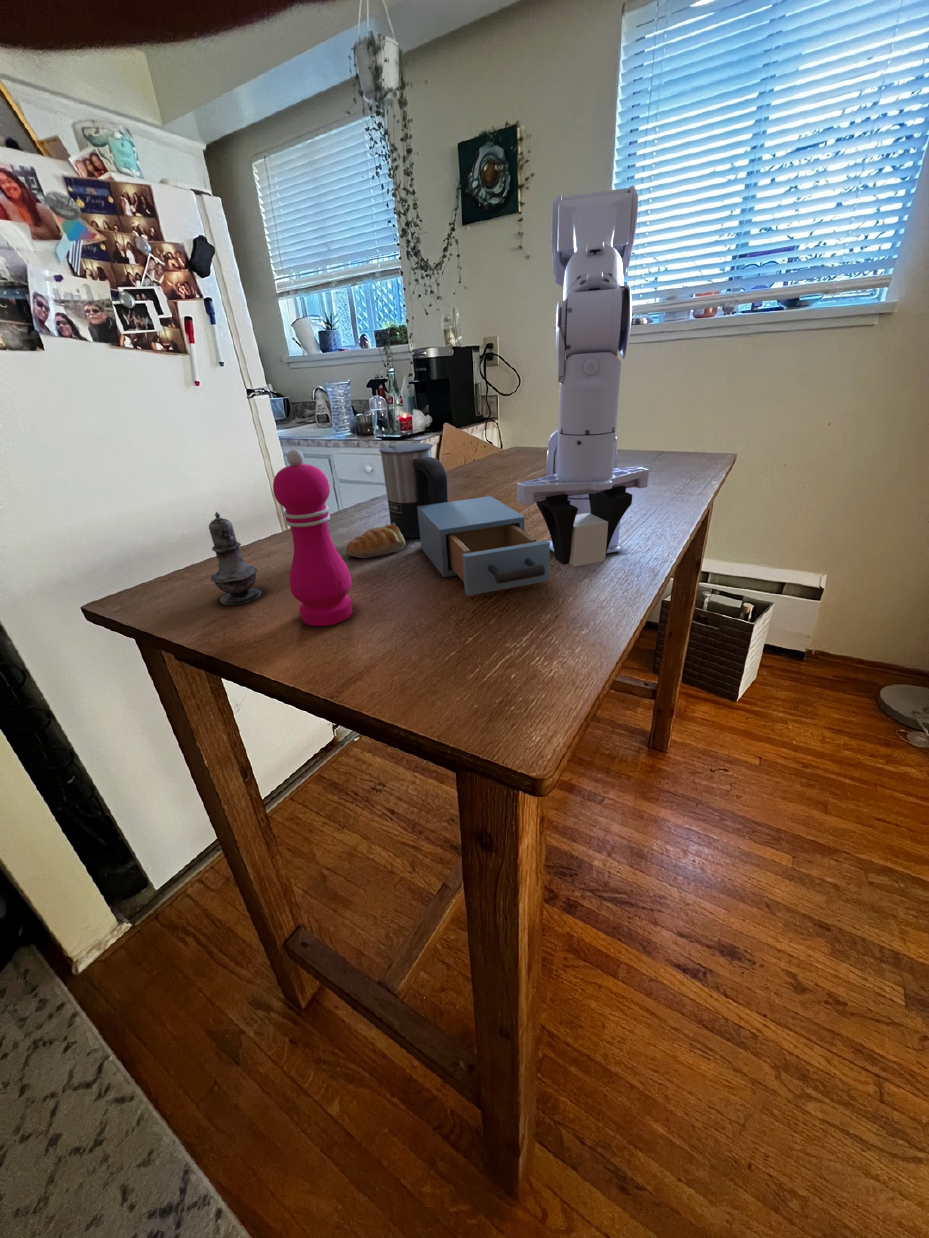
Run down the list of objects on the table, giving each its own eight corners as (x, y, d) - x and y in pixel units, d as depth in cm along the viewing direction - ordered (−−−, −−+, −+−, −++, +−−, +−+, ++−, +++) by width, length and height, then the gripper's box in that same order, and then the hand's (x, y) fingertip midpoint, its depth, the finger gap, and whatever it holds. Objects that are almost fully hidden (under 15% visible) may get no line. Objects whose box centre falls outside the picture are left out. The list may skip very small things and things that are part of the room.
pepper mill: (327, 634, 59) (289, 457, 49) (285, 621, 62) (243, 454, 53) (368, 609, 64) (342, 445, 55) (328, 598, 67) (296, 443, 58)
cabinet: (524, 563, 75) (524, 516, 71) (443, 577, 72) (439, 529, 68) (492, 537, 86) (490, 496, 83) (421, 548, 83) (416, 506, 80)
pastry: (359, 564, 78) (355, 540, 76) (339, 554, 83) (335, 532, 81) (409, 549, 83) (406, 526, 82) (388, 540, 88) (385, 519, 86)
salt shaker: (219, 610, 66) (191, 521, 61) (216, 594, 71) (190, 511, 65) (266, 599, 68) (243, 513, 63) (260, 584, 73) (238, 503, 68)
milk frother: (379, 535, 91) (367, 450, 84) (429, 512, 102) (422, 435, 96) (444, 545, 84) (437, 453, 77) (490, 519, 96) (487, 438, 89)
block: (586, 550, 59) (589, 512, 57) (605, 561, 56) (608, 521, 54) (556, 555, 58) (557, 517, 56) (573, 567, 55) (575, 527, 52)
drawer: (564, 593, 63) (565, 553, 60) (478, 609, 60) (476, 568, 57) (512, 551, 77) (511, 517, 75) (441, 563, 74) (438, 528, 72)
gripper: (538, 444, 45) (536, 582, 52) (673, 428, 49) (656, 559, 55) (508, 435, 51) (510, 559, 58) (631, 422, 55) (620, 540, 61)
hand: (579, 558), depth 57 cm, fingers closed on block, 4 cm apart
